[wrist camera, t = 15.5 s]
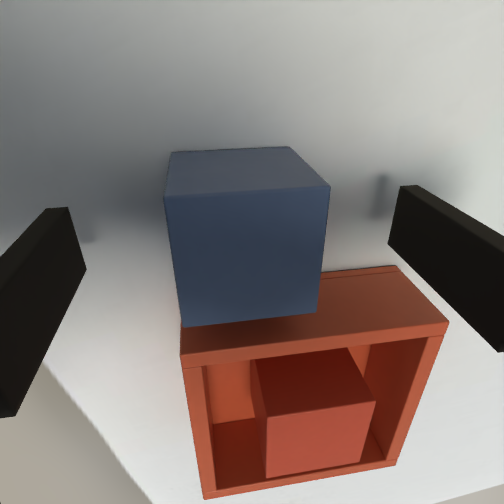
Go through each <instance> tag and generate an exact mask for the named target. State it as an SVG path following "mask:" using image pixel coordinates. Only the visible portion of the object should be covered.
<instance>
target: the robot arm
mask: <svg viewBox="0 0 504 504" xmlns="http://www.w3.org/2000/svg"><path fill="white" fill-rule="evenodd" d="M388 245H389V246H390V247H391V248H392V249H393V250H394V251H395V252H396V253H397V254H398V255H399V256H400V257H401V258H402V259H403V260H404V261H405V262H406V263H407V264H408V265H409V266H410V267H411V268H413V269H414V270H415V271H416V272H417V273H418V274H419V275H420V276H421V277H422V278H423V279H424V280H425V281H426V282H427V283H428V284H429V285H430V286H431V287H432V288H433V289H434V290H435V291H436V292H437V293H438V294H439V295H440V296H441V297H442V298H443V299H444V300H445V301H446V302H447V303H448V304H449V305H450V306H451V307H452V308H453V309H454V310H455V311H456V312H457V313H458V314H459V315H460V316H461V317H462V318H463V319H464V320H465V321H466V322H467V323H468V324H469V325H470V326H471V327H472V328H473V329H475V330H476V331H477V332H478V333H479V334H480V335H481V336H482V337H483V338H484V339H485V340H486V341H487V342H488V343H489V344H490V345H491V346H492V347H493V348H494V349H495V350H496V351H497V352H498V353H499V352H504V236H503V235H501V234H499V233H498V232H496V231H494V230H492V229H491V228H489V227H487V226H486V225H484V224H482V223H481V222H479V221H477V220H476V219H474V218H472V217H470V216H469V215H467V214H465V213H464V212H462V211H460V210H459V209H457V208H455V207H454V206H452V205H450V204H448V203H447V202H445V201H443V200H442V199H440V198H438V197H437V196H435V195H433V194H432V193H430V192H428V191H427V190H425V189H423V188H421V187H420V186H418V185H409V186H400V189H399V194H398V198H397V203H396V207H395V212H394V217H393V221H392V226H391V230H390V235H389V240H388ZM86 270H87V269H86V265H85V262H84V259H83V255H82V252H81V249H80V245H79V242H78V239H77V235H76V232H75V229H74V225H73V222H72V219H71V215H70V212H69V209H68V207H61V208H46V209H45V210H44V211H43V212H42V213H41V214H40V215H39V216H38V217H37V218H36V220H35V221H34V222H33V223H32V224H31V225H30V226H29V227H28V228H27V229H26V230H25V231H24V232H23V233H22V234H21V236H20V237H19V238H18V239H17V240H16V241H15V242H14V243H13V244H12V245H11V246H10V247H9V248H8V249H7V250H6V252H5V253H4V254H3V255H2V256H1V257H0V418H5V417H13V416H16V414H17V412H18V410H19V408H20V406H21V404H22V402H23V399H24V397H25V395H26V393H27V391H28V389H29V387H30V385H31V383H32V381H33V379H34V377H35V375H36V373H37V371H38V368H39V366H40V365H41V363H42V360H43V358H44V356H45V354H46V352H47V350H48V348H49V346H50V344H51V342H52V340H53V338H54V336H55V334H56V332H57V330H58V328H59V326H60V323H61V321H62V319H63V317H64V315H65V313H66V311H67V309H68V307H69V305H70V303H71V301H72V299H73V297H74V295H75V293H76V291H77V289H78V287H79V284H80V282H81V280H82V278H83V276H84V274H85V272H86ZM0 504H1V503H0Z"/></svg>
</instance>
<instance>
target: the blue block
mask: <svg viewBox="0 0 504 504" xmlns="http://www.w3.org/2000/svg"><path fill="white" fill-rule="evenodd" d="M330 189H331V187H330V185H329V184H328V183H327V182H326V181H325V180H324V179H322V178H321V177H320V176H319V175H318V174H317V173H316V172H315V171H314V170H313V169H312V168H311V167H310V166H309V165H308V164H307V163H306V162H305V161H304V160H303V159H302V158H301V157H300V156H299V155H298V154H297V153H296V152H295V151H294V150H293V149H291V148H290V147H271V148H250V149H230V150H209V151H188V152H172V153H171V156H170V161H169V167H168V173H167V179H166V185H165V191H164V196H163V202H164V208H165V215H166V222H167V228H168V235H169V242H170V248H171V255H172V262H173V268H174V275H175V282H176V288H177V295H178V302H179V308H180V315H181V322H182V326H183V327H184V328H186V327H195V326H203V325H212V324H221V323H230V322H238V321H247V320H256V319H265V318H273V317H282V316H291V315H300V314H308V313H315V312H316V311H317V304H318V295H319V286H320V277H321V268H322V260H323V251H324V242H325V233H326V224H327V216H328V207H329V198H330Z"/></svg>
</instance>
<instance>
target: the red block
mask: <svg viewBox="0 0 504 504" xmlns="http://www.w3.org/2000/svg"><path fill="white" fill-rule="evenodd" d="M250 382H251V399H252V405H253V410H254V416H255V421H256V427H257V432H258V438H259V444H260V449H261V455H262V460H263V466H264V471H265V477H266V478H271V477H277V476H282V475H288V474H294V473H299V472H305V471H311V470H316V469H322V468H328V467H333V466H339V465H345V464H350V463H356V462H359V461H360V458H361V454H362V450H363V447H364V443H365V440H366V436H367V432H368V429H369V425H370V421H371V418H372V414H373V411H374V407H375V403H376V401H375V399H374V397H373V395H372V393H371V391H370V389H369V387H368V385H367V383H366V382H365V380H364V378H363V376H362V374H361V372H360V370H359V368H358V367H357V365H356V363H355V361H354V359H353V357H352V355H351V353H350V352H349V350H348V348H347V347H345V348H337V349H330V350H322V351H314V352H307V353H299V354H291V355H283V356H276V357H268V358H260V359H253V360H250Z"/></svg>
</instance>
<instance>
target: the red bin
mask: <svg viewBox="0 0 504 504" xmlns="http://www.w3.org/2000/svg"><path fill="white" fill-rule="evenodd" d="M448 325H449V320H448V319H447V318H446V317H445V316H444V315H443V314H442V313H441V312H440V311H439V310H438V309H437V308H436V307H435V306H434V305H433V304H432V303H431V302H430V301H429V300H428V299H427V297H426V296H425V295H424V294H423V293H422V292H421V291H420V290H419V289H418V288H417V287H416V286H415V285H414V284H413V283H412V282H411V281H410V280H409V279H408V278H407V277H406V276H405V274H404V273H403V272H401V270H400V269H399V268H398V267H397V266H386V267H376V268H366V269H356V270H346V271H336V272H326V273H321V277H320V286H319V295H318V304H317V311H316V312H315V313H308V314H300V315H291V316H282V317H273V318H265V319H256V320H247V321H238V322H230V323H221V324H212V325H203V326H195V327H186V328H184V327H183V326H182V322H181V330H180V360H181V366H182V372H183V378H184V384H185V390H186V397H187V403H188V409H189V415H190V421H191V427H192V433H193V439H194V445H195V451H196V457H197V464H198V470H199V476H200V482H201V488H202V494H203V499H204V500H207V499H213V498H218V497H224V496H229V495H235V494H240V493H246V492H251V491H257V490H263V489H268V488H274V487H279V486H285V485H290V484H296V483H301V482H307V481H312V480H318V479H324V478H329V477H335V476H340V475H346V474H351V473H357V472H362V471H368V470H373V469H379V468H385V467H390V466H395V465H396V462H397V458H398V457H399V454H400V452H401V449H402V446H403V444H404V441H405V438H406V436H407V433H408V431H409V428H410V425H411V423H412V420H413V417H414V415H415V412H416V409H417V407H418V404H419V401H420V399H421V396H422V394H423V391H424V388H425V386H426V383H427V380H428V378H429V375H430V372H431V370H432V367H433V364H434V362H435V359H436V356H437V354H438V351H439V349H440V346H441V343H442V341H443V338H444V334H445V333H446V330H447V328H448ZM345 347H347V348H348V350H349V352H350V353H351V355H352V357H353V359H354V361H355V363H356V365H357V367H358V368H359V370H360V372H361V374H362V376H363V378H364V380H365V382H366V383H367V385H368V387H369V389H370V391H371V393H372V395H373V397H374V399H375V401H376V403H375V407H374V411H373V414H372V418H371V421H370V425H369V429H368V432H367V436H366V440H365V443H364V447H363V450H362V454H361V458H360V461H359V462H356V463H350V464H345V465H339V466H333V467H328V468H322V469H316V470H311V471H305V472H299V473H294V474H288V475H282V476H277V477H271V478H266V477H265V471H264V466H263V460H262V455H261V449H260V444H259V438H258V432H257V427H256V421H255V416H254V410H253V405H252V399H251V382H250V360H253V359H260V358H268V357H276V356H283V355H291V354H299V353H307V352H314V351H322V350H330V349H337V348H345Z"/></svg>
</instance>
